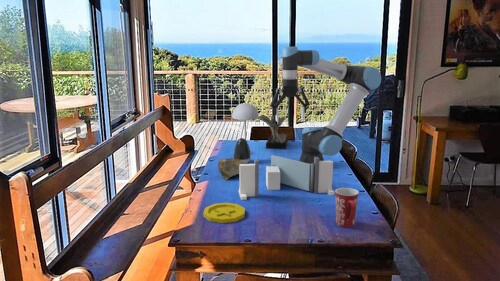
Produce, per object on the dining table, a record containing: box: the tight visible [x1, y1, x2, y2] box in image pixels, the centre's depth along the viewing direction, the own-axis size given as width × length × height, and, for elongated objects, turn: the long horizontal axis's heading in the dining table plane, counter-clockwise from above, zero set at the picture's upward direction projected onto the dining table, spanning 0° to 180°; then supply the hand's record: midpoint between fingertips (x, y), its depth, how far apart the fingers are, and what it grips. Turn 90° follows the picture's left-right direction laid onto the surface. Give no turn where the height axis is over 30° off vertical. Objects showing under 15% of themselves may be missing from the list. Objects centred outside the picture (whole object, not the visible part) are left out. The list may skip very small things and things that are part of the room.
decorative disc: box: [203, 202, 246, 224], centre depth 172 cm, size 17×18×2 cm
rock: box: [217, 157, 245, 181], centre depth 221 cm, size 19×10×10 cm
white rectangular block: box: [265, 165, 281, 191], centre depth 205 cm, size 6×10×9 cm, turn 3°
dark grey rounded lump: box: [233, 137, 252, 164], centre depth 244 cm, size 10×10×15 cm
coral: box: [258, 114, 289, 150], centre depth 287 cm, size 25×20×22 cm
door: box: [270, 154, 314, 193], centre depth 204 cm, size 26×3×14 cm, turn 46°
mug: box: [334, 187, 360, 228], centre depth 160 cm, size 13×9×14 cm
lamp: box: [231, 102, 259, 155], centre depth 264 cm, size 17×17×33 cm
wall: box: [238, 157, 336, 201], centre depth 194 cm, size 44×10×17 cm, turn 98°
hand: (289, 120), depth 212 cm, fingers open, 13 cm apart
